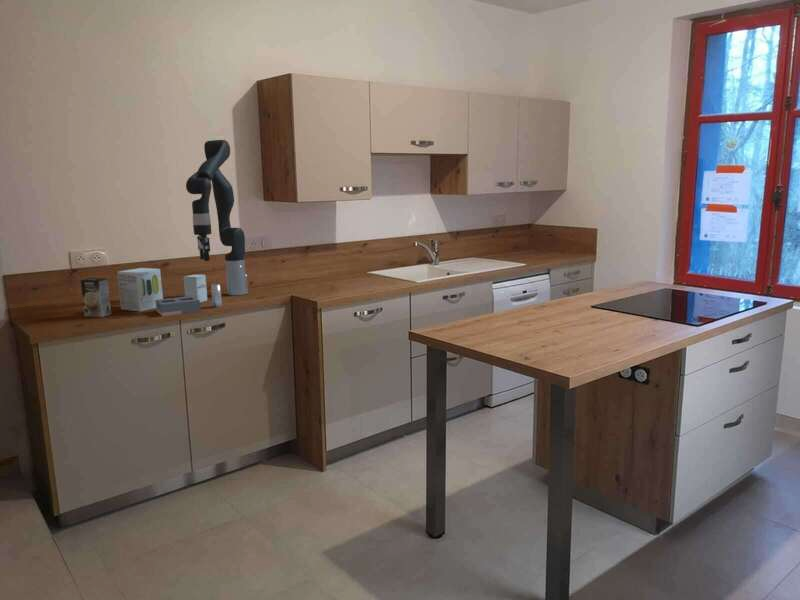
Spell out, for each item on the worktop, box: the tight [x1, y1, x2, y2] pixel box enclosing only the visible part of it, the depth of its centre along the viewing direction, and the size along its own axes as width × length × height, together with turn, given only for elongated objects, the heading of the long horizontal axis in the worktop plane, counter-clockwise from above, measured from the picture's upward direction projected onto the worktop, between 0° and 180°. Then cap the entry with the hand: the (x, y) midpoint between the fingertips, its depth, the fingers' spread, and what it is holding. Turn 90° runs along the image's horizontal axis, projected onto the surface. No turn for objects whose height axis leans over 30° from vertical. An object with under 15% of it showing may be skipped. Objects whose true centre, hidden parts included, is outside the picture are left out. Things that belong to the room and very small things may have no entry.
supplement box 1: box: [117, 267, 164, 312], centre depth 287 cm, size 13×13×18 cm
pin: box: [210, 283, 223, 309], centre depth 285 cm, size 4×4×10 cm
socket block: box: [155, 296, 202, 317], centre depth 277 cm, size 16×14×5 cm
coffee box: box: [80, 277, 112, 318], centre depth 272 cm, size 9×6×16 cm
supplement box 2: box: [183, 274, 208, 303], centre depth 299 cm, size 7×7×13 cm
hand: (204, 260), depth 283 cm, fingers open, 8 cm apart
